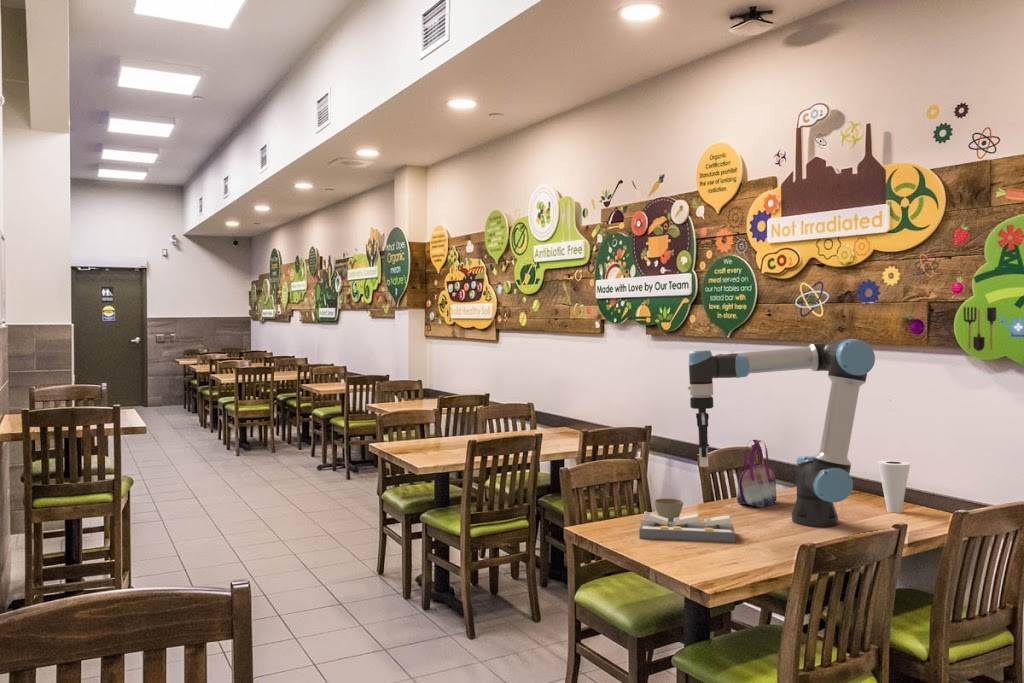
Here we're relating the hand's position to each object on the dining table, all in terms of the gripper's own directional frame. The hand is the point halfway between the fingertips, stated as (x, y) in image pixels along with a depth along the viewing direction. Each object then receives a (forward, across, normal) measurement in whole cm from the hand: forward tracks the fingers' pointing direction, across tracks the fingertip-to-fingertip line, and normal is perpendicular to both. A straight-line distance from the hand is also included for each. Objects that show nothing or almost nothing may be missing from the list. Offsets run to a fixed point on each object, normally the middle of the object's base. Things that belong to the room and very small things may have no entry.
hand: (704, 466), depth 251 cm
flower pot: (+22, -13, -12) cm, 28 cm away
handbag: (+23, -45, +22) cm, 55 cm away
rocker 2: (+17, +5, -7) cm, 19 cm away
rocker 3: (+17, +5, +3) cm, 18 cm away
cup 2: (+24, -39, +69) cm, 83 cm away
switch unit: (+22, +6, -7) cm, 24 cm away
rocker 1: (+17, +5, -17) cm, 24 cm away
